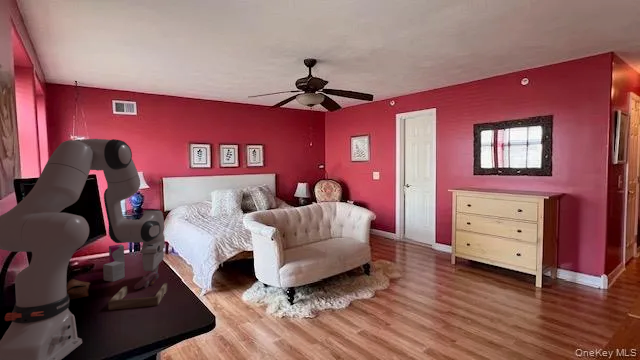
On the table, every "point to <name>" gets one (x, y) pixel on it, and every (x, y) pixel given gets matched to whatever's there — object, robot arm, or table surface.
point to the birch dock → (135, 299)
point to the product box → (113, 271)
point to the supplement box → (116, 253)
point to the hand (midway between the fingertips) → (154, 275)
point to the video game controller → (147, 280)
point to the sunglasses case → (77, 289)
